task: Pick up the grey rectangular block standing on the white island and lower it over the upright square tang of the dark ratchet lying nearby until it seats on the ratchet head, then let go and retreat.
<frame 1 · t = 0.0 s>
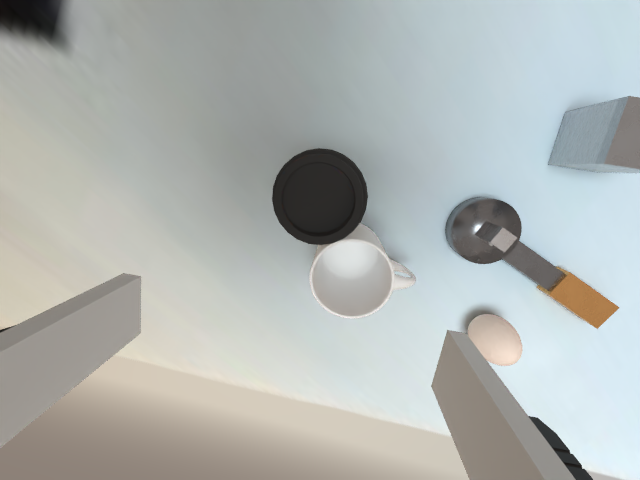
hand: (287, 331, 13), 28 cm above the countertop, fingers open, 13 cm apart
mug: (361, 253, 41), on the countertop
ratchet: (477, 228, 39), on the countertop
grey rectangular block: (581, 142, 36), on the countertop
egg: (479, 322, 42), on the countertop
coffee cup: (327, 188, 39), on the countertop
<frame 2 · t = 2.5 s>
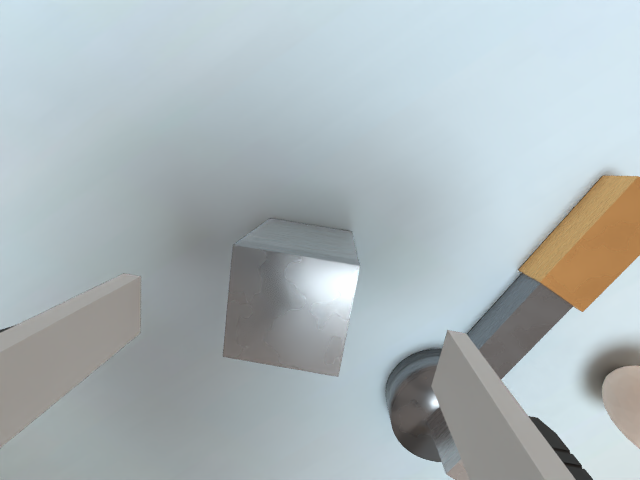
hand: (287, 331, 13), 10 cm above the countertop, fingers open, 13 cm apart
ratchet: (435, 393, 24), on the countertop
grey rectangular block: (305, 263, 22), on the countertop
egg: (613, 376, 23), on the countertop
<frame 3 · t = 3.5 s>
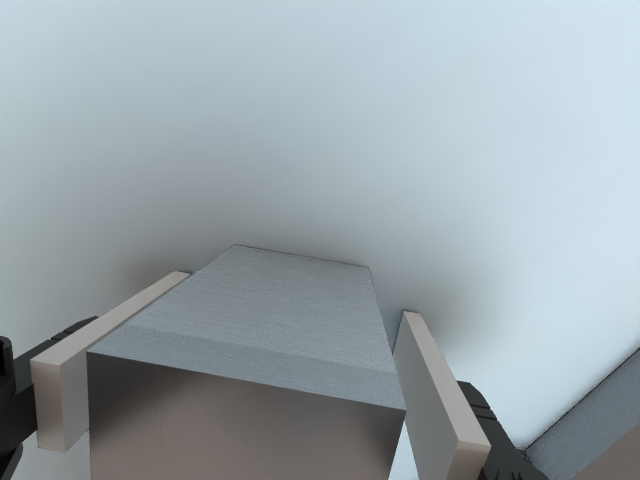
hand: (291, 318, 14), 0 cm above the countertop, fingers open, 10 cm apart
grey rectangular block: (292, 316, 14), on the countertop
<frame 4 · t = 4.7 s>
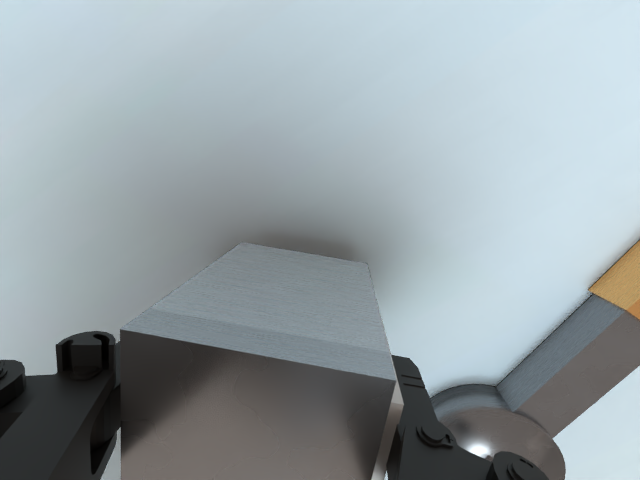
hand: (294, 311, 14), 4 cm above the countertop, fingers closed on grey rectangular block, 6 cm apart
ratchet: (472, 436, 20), on the countertop
grey rectangular block: (295, 310, 15), point 3 cm above the countertop, touching gripper
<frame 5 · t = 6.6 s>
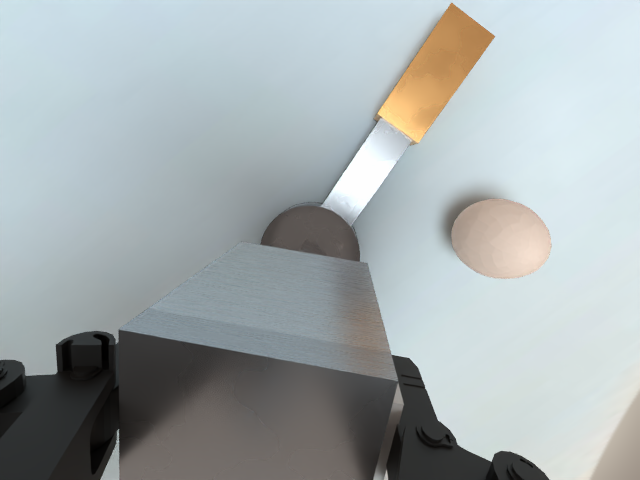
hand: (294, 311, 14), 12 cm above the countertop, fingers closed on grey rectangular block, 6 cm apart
ratchet: (312, 248, 26), on the countertop
grey rectangular block: (295, 310, 15), point 12 cm above the countertop, touching gripper
egg: (471, 227, 25), on the countertop
when the fingers open (3 cm above the countertop, at t = 8.4 s): grey rectangular block stays where it is, resting on ratchet.
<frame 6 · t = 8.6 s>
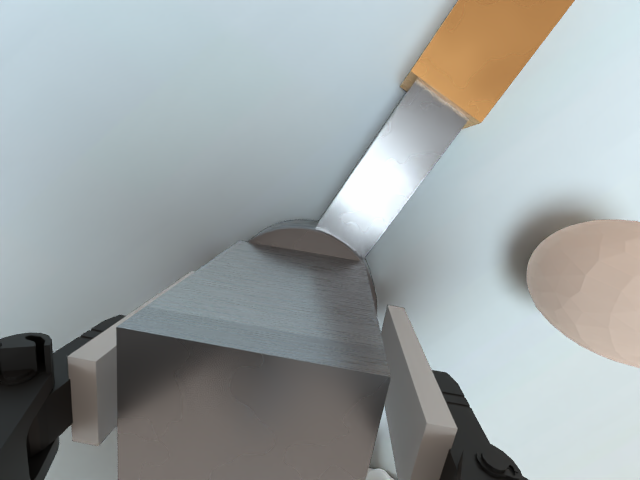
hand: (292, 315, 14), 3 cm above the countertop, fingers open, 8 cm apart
ratchet: (302, 288, 17), on the countertop
grey rectangular block: (292, 308, 15), point 2 cm above the countertop, touching ratchet
egg: (550, 259, 16), on the countertop
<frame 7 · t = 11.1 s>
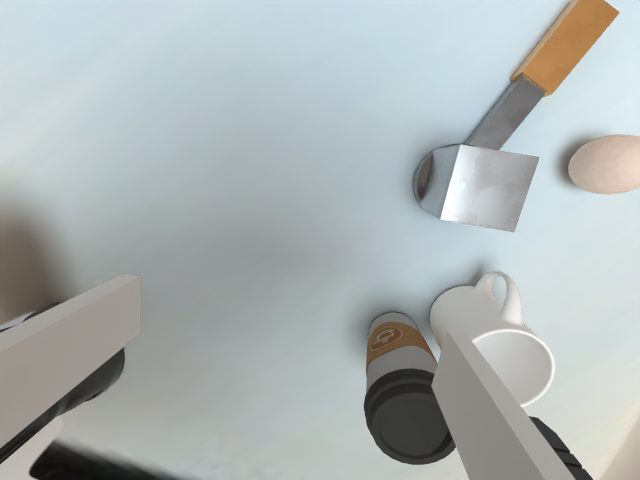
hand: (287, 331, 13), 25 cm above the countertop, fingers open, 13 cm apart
mug: (466, 302, 37), on the countertop
ratchet: (449, 182, 34), on the countertop
grey rectangular block: (455, 183, 32), point 2 cm above the countertop, touching ratchet
egg: (579, 165, 32), on the countertop
coffee cup: (392, 331, 39), on the countertop
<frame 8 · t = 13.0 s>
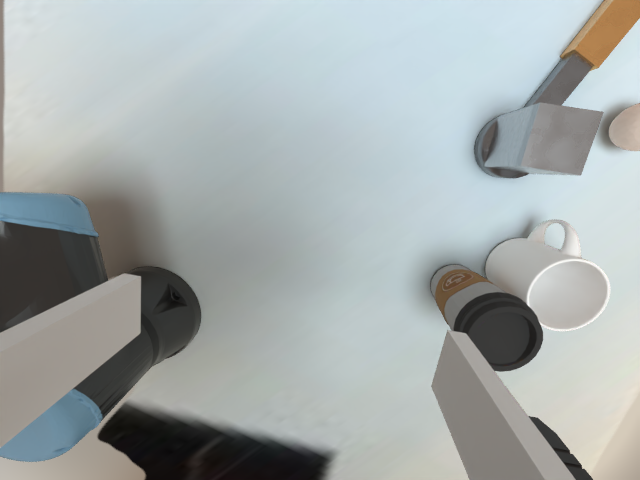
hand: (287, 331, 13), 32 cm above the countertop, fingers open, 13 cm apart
mug: (517, 254, 43), on the countertop
ratchet: (505, 146, 40), on the countertop
grey rectangular block: (515, 145, 37), point 2 cm above the countertop, touching ratchet
egg: (616, 130, 38), on the countertop
coffee cup: (451, 283, 45), on the countertop
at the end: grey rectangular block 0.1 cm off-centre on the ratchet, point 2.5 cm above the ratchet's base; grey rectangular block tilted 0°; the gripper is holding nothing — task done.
